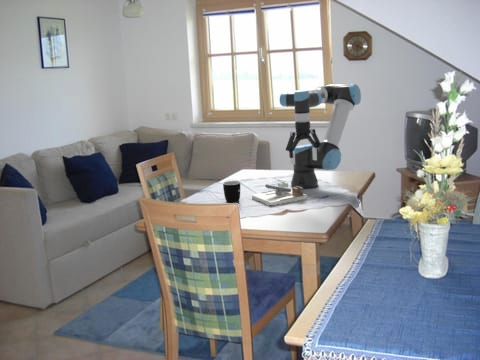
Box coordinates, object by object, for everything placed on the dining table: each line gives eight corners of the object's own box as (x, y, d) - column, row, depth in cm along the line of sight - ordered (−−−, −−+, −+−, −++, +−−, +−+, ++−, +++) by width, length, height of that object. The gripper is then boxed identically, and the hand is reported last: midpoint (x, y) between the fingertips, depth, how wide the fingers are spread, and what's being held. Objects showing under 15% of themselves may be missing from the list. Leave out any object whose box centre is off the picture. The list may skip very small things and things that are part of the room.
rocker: (287, 190, 299) (287, 187, 299) (290, 192, 296) (291, 188, 295) (265, 187, 292) (265, 183, 292) (268, 188, 289) (269, 184, 288)
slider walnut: (298, 193, 294) (298, 185, 293) (303, 195, 290) (302, 186, 289) (292, 195, 292) (292, 186, 291) (296, 196, 288) (296, 187, 287)
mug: (241, 203, 290) (240, 184, 288) (223, 204, 290) (222, 185, 288) (241, 197, 301) (240, 179, 299) (224, 198, 302) (223, 180, 299)
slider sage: (284, 188, 306) (283, 180, 305) (288, 190, 302) (288, 181, 301) (278, 190, 304) (277, 181, 303) (282, 191, 300) (281, 183, 299)
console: (287, 191, 308) (286, 184, 307) (307, 198, 291) (307, 190, 290) (252, 198, 298) (251, 190, 297) (271, 206, 281) (270, 198, 280)
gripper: (318, 117, 294) (319, 157, 299) (277, 123, 283) (279, 164, 288) (326, 118, 287) (328, 159, 292) (285, 124, 276) (287, 166, 281)
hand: (304, 162), depth 290 cm, fingers open, 13 cm apart
